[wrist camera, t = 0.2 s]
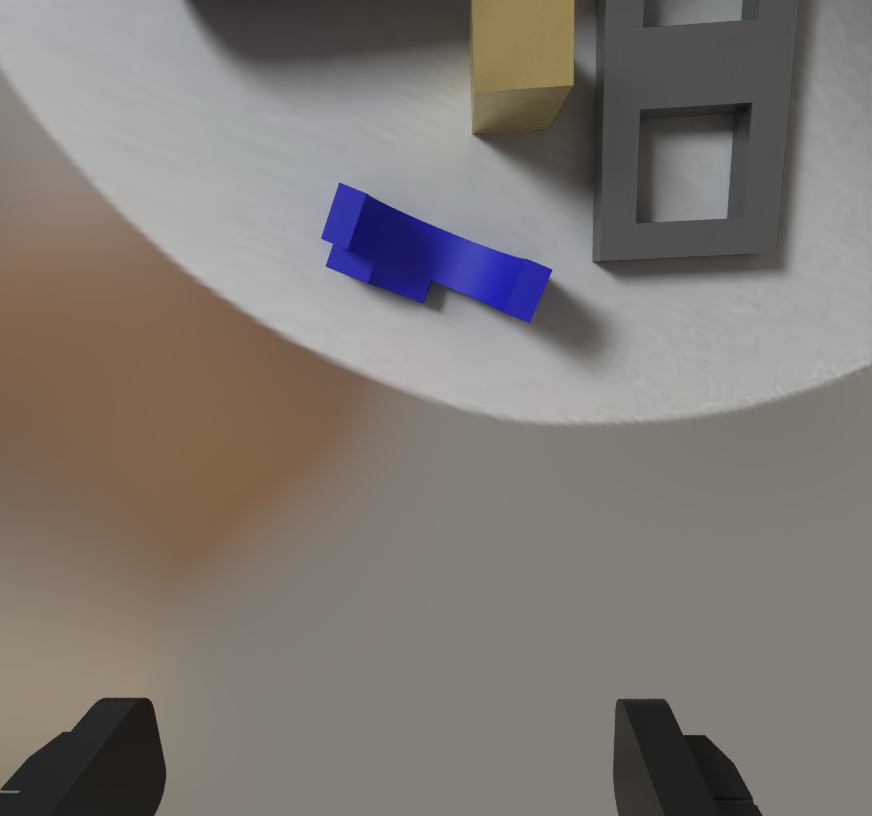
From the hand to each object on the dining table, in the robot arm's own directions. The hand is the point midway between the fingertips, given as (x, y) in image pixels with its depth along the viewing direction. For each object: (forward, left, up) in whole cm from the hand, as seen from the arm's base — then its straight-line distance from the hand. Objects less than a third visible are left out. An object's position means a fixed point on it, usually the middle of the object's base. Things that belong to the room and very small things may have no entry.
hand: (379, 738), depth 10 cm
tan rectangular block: (-18, +5, -28) cm, 34 cm away
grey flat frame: (-18, +15, -28) cm, 37 cm away
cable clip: (-8, 0, -29) cm, 30 cm away
